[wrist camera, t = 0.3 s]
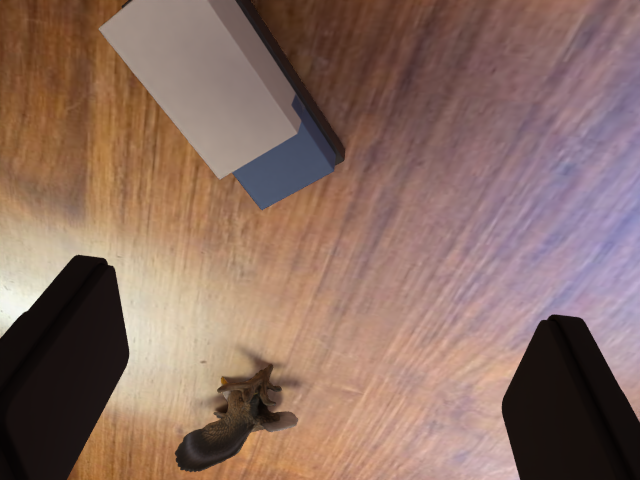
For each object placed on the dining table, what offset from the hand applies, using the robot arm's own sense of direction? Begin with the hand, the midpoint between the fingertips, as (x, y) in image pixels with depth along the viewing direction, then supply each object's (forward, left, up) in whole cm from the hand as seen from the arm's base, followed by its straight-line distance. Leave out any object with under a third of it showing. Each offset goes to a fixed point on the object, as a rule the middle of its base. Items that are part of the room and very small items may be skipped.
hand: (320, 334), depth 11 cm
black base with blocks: (0, -5, -18) cm, 19 cm away
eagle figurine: (+25, -4, -18) cm, 31 cm away
